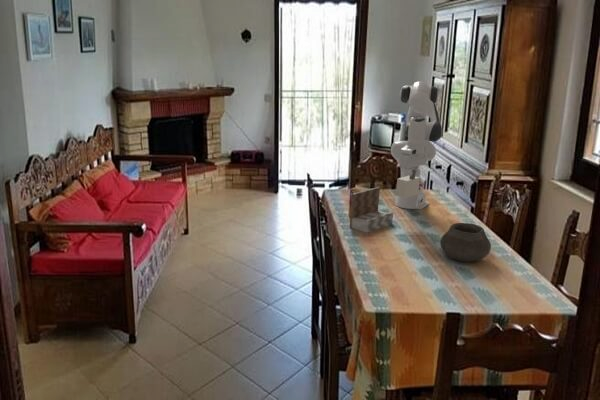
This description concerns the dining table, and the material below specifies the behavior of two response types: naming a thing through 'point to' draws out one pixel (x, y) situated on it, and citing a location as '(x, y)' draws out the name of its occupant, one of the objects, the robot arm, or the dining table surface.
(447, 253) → the clay pot
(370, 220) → the wood-topped platform
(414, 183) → the cabinet
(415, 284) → the dining table surface
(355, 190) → the candy box
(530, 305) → the dining table surface
